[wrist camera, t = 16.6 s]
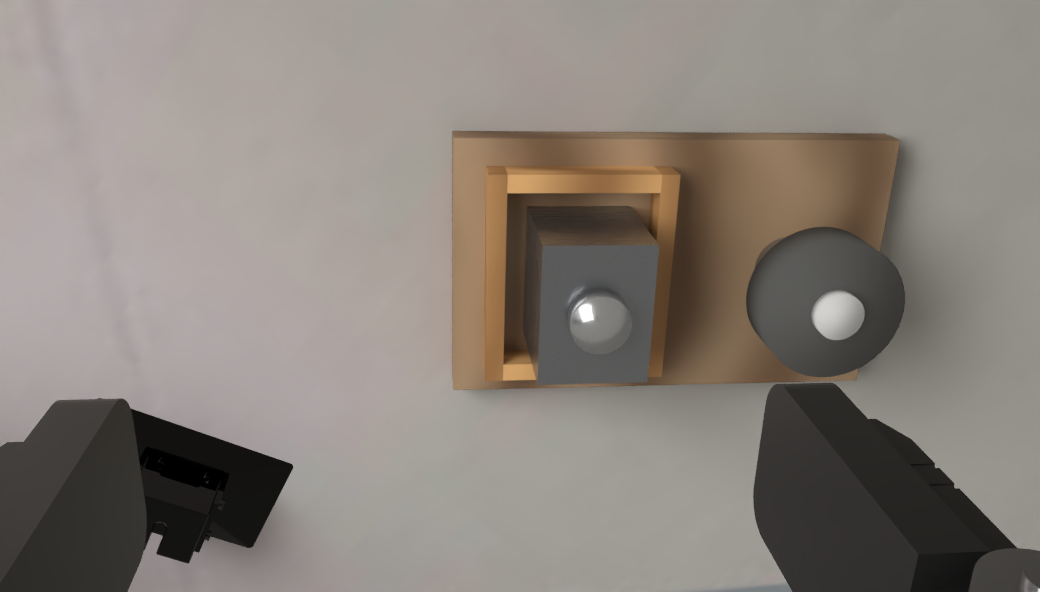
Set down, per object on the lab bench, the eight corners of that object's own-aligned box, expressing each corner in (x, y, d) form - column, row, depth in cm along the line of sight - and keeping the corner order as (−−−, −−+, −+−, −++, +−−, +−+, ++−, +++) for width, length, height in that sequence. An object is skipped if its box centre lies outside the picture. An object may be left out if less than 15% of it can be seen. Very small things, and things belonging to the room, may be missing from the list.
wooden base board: (452, 375, 45) (455, 421, 40) (452, 131, 40) (456, 154, 36) (843, 366, 47) (885, 409, 43) (884, 133, 42) (935, 155, 38)
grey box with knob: (522, 330, 42) (540, 396, 36) (526, 206, 40) (546, 254, 34) (620, 329, 43) (653, 393, 37) (629, 205, 41) (665, 253, 35)
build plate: (36, 488, 45) (-3, 547, 41) (79, 367, 43) (42, 415, 39) (277, 563, 48) (264, 624, 44) (329, 453, 46) (320, 506, 42)
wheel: (738, 356, 41) (760, 385, 38) (754, 227, 38) (779, 248, 36) (867, 353, 41) (897, 381, 39) (890, 226, 39) (924, 247, 36)
